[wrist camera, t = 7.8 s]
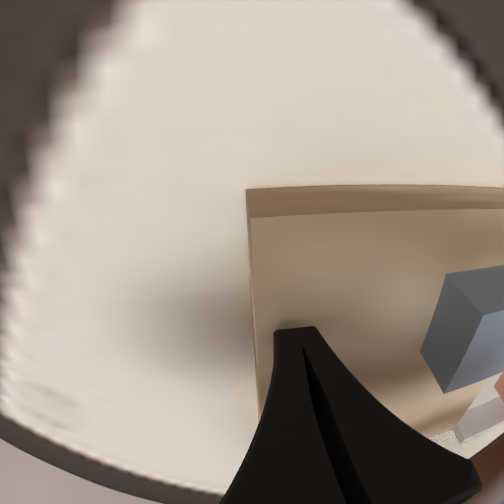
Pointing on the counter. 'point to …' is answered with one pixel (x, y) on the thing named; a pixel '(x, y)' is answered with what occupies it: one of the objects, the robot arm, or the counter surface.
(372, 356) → the oak board
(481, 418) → the box
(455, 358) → the slate tile
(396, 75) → the counter surface
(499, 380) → the terracotta block
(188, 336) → the counter surface
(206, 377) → the counter surface
